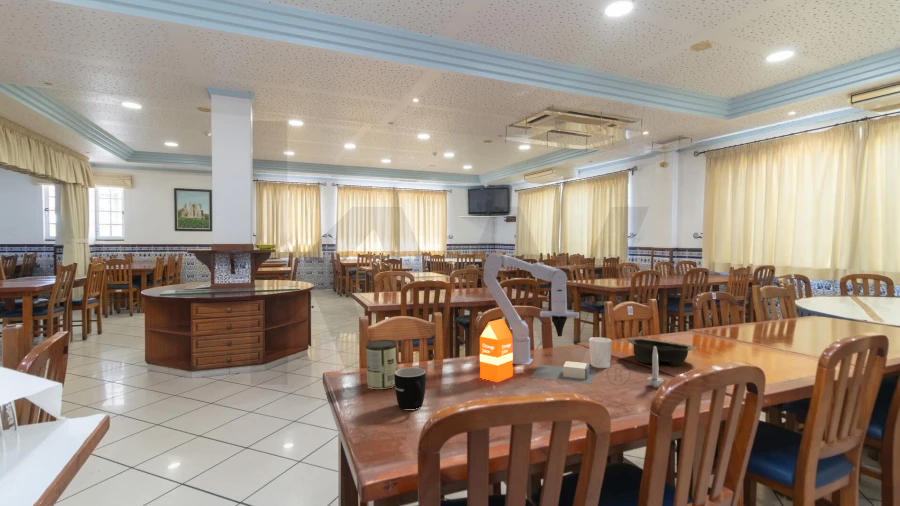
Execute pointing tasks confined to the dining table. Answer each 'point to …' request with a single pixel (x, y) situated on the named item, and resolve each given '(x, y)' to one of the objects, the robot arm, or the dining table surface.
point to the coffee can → (381, 363)
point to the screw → (655, 370)
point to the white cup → (600, 352)
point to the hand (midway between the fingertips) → (559, 335)
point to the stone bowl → (660, 351)
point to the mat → (559, 374)
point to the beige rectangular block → (576, 370)
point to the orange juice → (496, 352)
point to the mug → (410, 387)
